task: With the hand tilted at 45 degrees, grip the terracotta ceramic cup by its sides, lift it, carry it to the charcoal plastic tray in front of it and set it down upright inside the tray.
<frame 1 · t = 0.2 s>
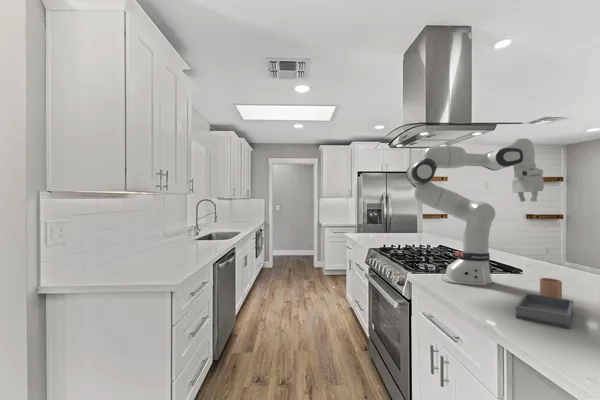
hand: (528, 201, 154), 39 cm above the countertop, fingers open, 8 cm apart
tray: (545, 314, 112), on the countertop
cup: (550, 301, 125), on the countertop
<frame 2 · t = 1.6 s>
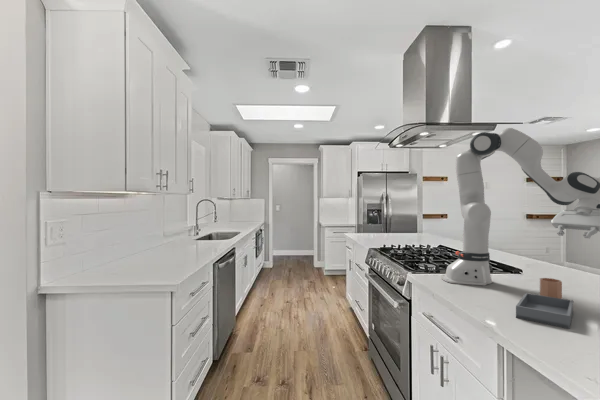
hand: (572, 235, 129), 25 cm above the countertop, fingers open, 8 cm apart
nothing on the countertop moved.
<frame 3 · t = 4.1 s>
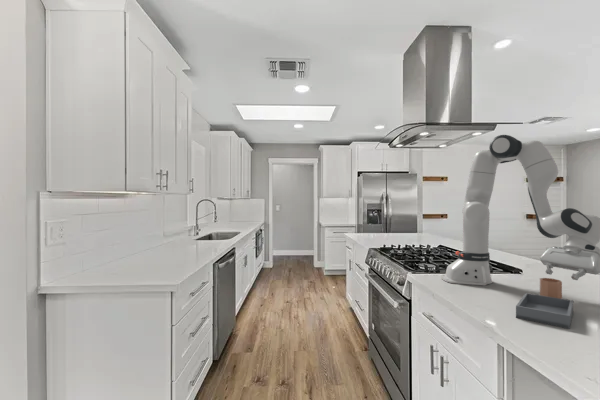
hand: (560, 276, 127), 10 cm above the countertop, fingers open, 8 cm apart
nothing on the countertop moved.
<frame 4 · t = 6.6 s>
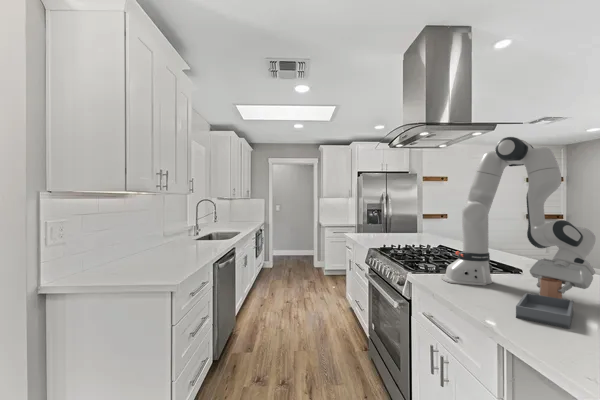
hand: (549, 289, 125), 5 cm above the countertop, fingers closed on cup, 6 cm apart
cup: (550, 301, 125), on the countertop, touching gripper
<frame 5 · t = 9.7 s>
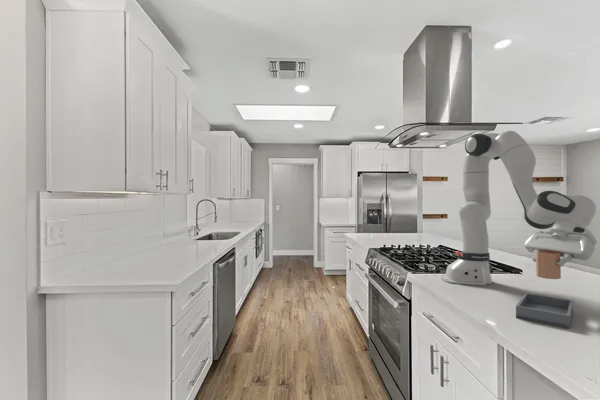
hand: (546, 263, 113), 18 cm above the countertop, fingers closed on cup, 6 cm apart
cup: (548, 276, 113), point 13 cm above the countertop, touching gripper
when the fingers open (7 cm above the countertop, at t = 13.0 s): cup drops 1 cm, resting on tray.
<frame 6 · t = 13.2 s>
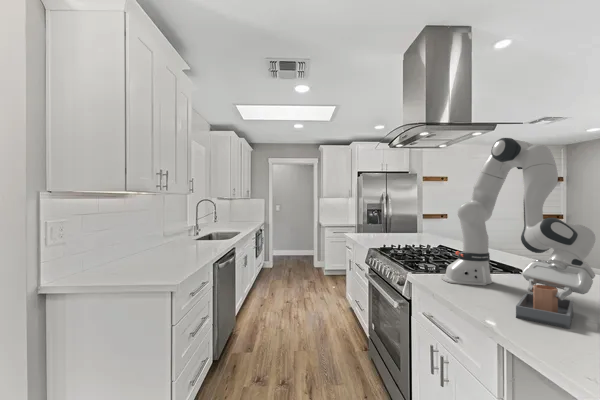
hand: (543, 294, 112), 7 cm above the countertop, fingers open, 8 cm apart
cup: (545, 311, 112), point 1 cm above the countertop, touching tray
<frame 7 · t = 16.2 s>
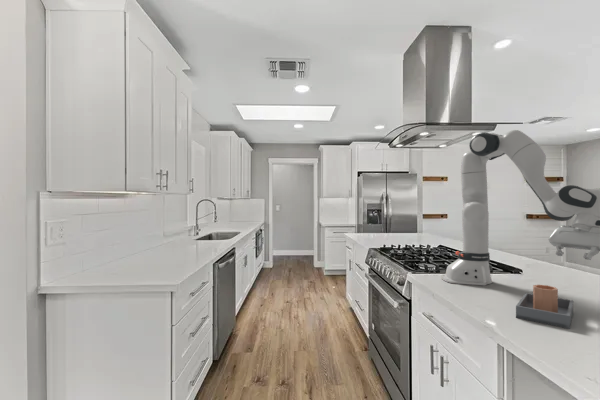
hand: (572, 256, 119), 19 cm above the countertop, fingers open, 8 cm apart
nothing on the countertop moved.
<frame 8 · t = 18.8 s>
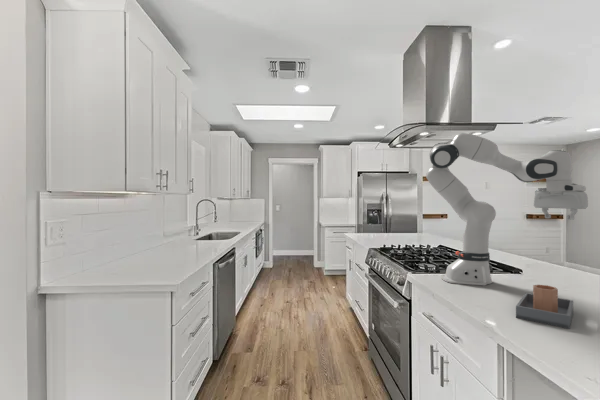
hand: (559, 218, 142), 31 cm above the countertop, fingers open, 8 cm apart
nothing on the countertop moved.
at the end: cup inside the target area on the tray (0.1 cm from its centre), point 1.0 cm above the tray's base; cup tilted 0°; the gripper is holding nothing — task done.
